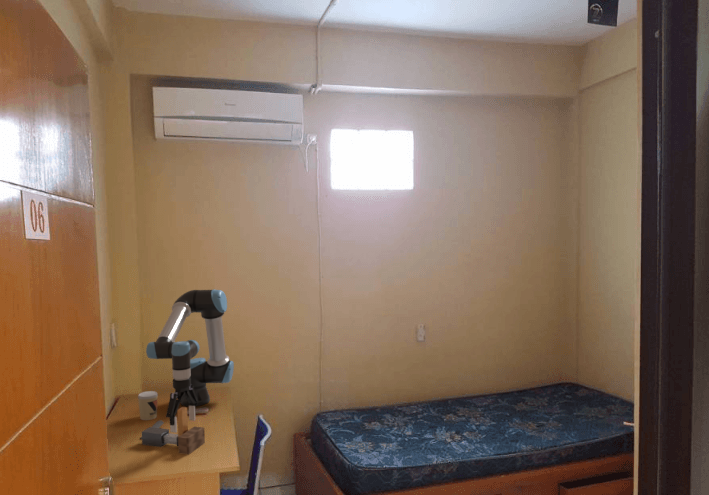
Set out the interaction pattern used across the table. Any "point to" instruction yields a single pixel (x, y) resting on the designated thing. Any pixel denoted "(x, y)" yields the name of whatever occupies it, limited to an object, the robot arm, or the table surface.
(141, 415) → the coffee cup
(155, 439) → the dark grey block
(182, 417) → the sliding bar
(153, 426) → the half round rod
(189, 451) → the walnut socket
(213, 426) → the table surface
